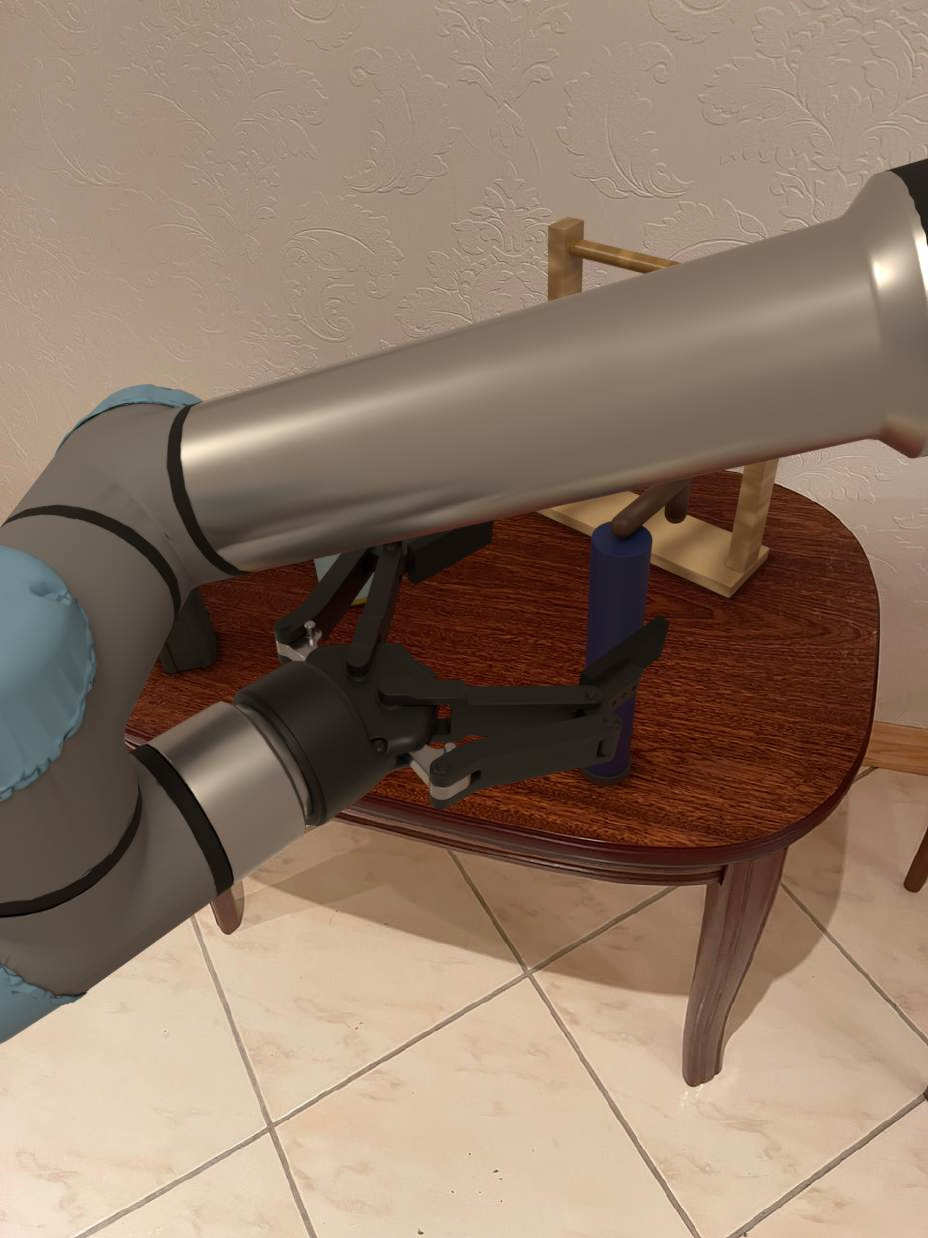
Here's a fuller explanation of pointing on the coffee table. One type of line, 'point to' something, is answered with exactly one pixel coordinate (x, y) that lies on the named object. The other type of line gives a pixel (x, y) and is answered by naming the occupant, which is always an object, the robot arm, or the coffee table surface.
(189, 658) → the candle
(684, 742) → the coffee table surface
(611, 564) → the umbrella
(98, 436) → the robot arm
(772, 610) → the coffee table surface
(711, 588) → the rack
